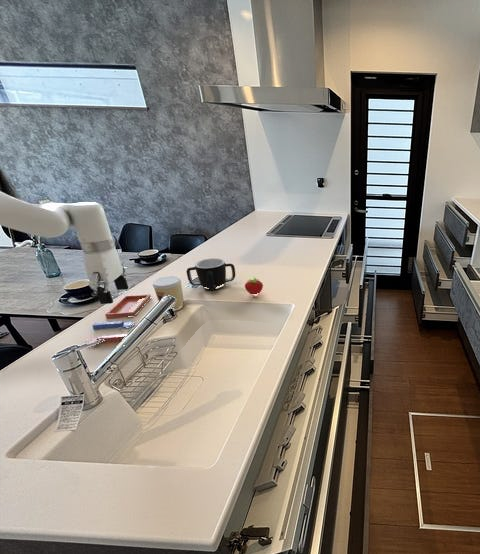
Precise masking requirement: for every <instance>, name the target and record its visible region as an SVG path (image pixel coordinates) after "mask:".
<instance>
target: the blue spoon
mask: <svg viewBox="0 0 480 554" xmlns="http://www.w3.org/2000/svg"><path fill="white" fill-rule="evenodd" d="M133 324H135V321H126V322H124V321H123V320H122V321H121V320H119V321H107V322H94V323H93V324H92V325H91V326H92V329H93V330H95V331H97V330H108V329H119V328H118V327H122V329H123V328H126V327H130V326H132V325H133Z"/></svg>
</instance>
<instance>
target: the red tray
mask: <svg viewBox="0 0 480 554" xmlns="http://www.w3.org/2000/svg"><path fill="white" fill-rule="evenodd" d="M150 297H151V298H152V296H151V294H134V295H133V294H132V295H125V296H123V297H122V298H121V299H120V300H119V301H117V303H115V305H114V306H112V308H110V309H109V310H108V311H107V312H106V313H105V314H104V316H105V318H106V319H107V320H113V319H122V318H121V317H127V318H129V317H128V316H135V314H136V313H137V312H138V311H139V310H140V309H141V308H142V306H144V304H145V303H146V302H147V301H148V300H149V299H150ZM142 298H145V299H144V300H143V301H142V302H141V303H140V304H139V305H138V306H137V308H136V309H135V310H134V311H133V312H129V310H130V309H131V307H133V306H135V304H137V303H138V302H137V301H138V300H139V299H142ZM150 300H151V299H150ZM133 304H134V305H133ZM144 307H145V306H144ZM142 310H143V308H142V309H141V311H142ZM135 317H136V316H135ZM127 318H126V319H127Z"/></svg>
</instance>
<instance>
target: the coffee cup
mask: <svg viewBox="0 0 480 554" xmlns="http://www.w3.org/2000/svg"><path fill="white" fill-rule="evenodd" d="M152 287H153V289H154V292H155V295H156V298H157V301H158V302H159V301H160V300H161V299H162V298H163V297H164V296H165V295H171V296H173V297H175V298H176V299H177V303H176V304H175V306H174V307H173V308H174V309H178V308H179V307H180V306H182V305H183V302H184V303H185V301H184V300H185V299H184V294H183V287H182V280H181V278H180V277H178V276H164V277H160V278H158V279H155V280H154V281H153V283H152ZM181 310H182V309H180V310H179V311H181Z"/></svg>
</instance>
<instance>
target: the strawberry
mask: <svg viewBox="0 0 480 554" xmlns="http://www.w3.org/2000/svg"><path fill="white" fill-rule="evenodd" d="M244 288H245V291H246V292H247V293H248V294H249V295H251V294H257V293H259V294H260V293H261V292H262V290H263V288H264V285H263V282H262V281H261V280H259V279H258V278H257V277H253V279H248V280H247V281H246V282H245V284H244Z"/></svg>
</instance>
